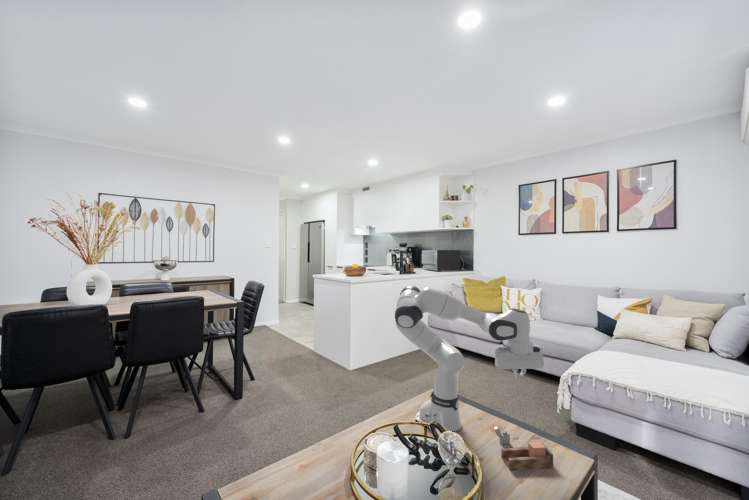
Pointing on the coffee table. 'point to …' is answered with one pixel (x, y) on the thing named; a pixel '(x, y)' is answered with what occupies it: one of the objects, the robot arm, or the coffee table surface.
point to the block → (536, 449)
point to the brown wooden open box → (525, 459)
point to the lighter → (503, 436)
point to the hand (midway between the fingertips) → (519, 378)
